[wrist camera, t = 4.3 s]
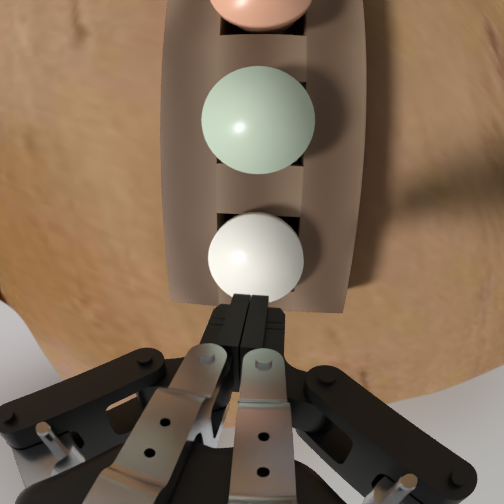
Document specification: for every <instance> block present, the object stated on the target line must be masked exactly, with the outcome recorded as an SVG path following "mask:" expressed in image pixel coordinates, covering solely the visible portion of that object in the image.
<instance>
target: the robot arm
mask: <svg viewBox="0 0 504 504" xmlns="http://www.w3.org/2000/svg"><path fill="white" fill-rule="evenodd" d="M284 336H285V314H284V313H283V311H282V310H281V308H274V307H269V296H266V295H252V297H251V295H250V294H236V293H234V294H233V297H232V300H231V303H230V304H220V305H219V306H217V307H216V308H215V309H214V310H213V312H212V315H211V317H210V319H209V322H208V325H207V327H206V329H205V332H204V334H203V337H202V339H201V342H200V344H199V345H196V346H194V347H192V348H191V349H190V350H189V351H188V353H187V355H186V356H185V357H182V358H175V359H164V356H163V354H162V353H161V352H160V351H158V350H156V349H153V348H141V349H137V350H135V351H133V352H130V353H128V354H126V355H123V356H121V357H119V358H117V359H114V360H112V361H110V362H107V363H105V364H103V365H100V366H98V367H96V368H93V369H91V370H89V371H86V372H84V373H81V374H79V375H77V376H74V377H72V378H69V379H67V380H64V381H62V382H60V383H57V384H54V385H52V386H50V387H47V388H44V389H42V390H39V391H37V392H34V393H32V394H29V395H26V396H24V397H21V398H19V399H16V400H13V401H11V402H8V403H6V404H3V405H2V406H0V434H1V436H2V437H3V438H4V439H5V440H6V442H7V444H8V445H9V446H10V447H11V448H12V450H13V454H14V457H15V460H16V463H17V466H18V469H19V472H20V475H21V478H22V481H23V483H24V486H25V489H24V490H23V491H22V492H21V493H20V495H19V496H18V498H17V500H16V502H15V504H346V503H345V502H344V501H343V500H342V499H341V498H340V497H339V496H338V495H337V494H336V493H335V492H334V491H333V489H332V488H330V486H328V484H327V483H326V482H325V481H324V480H323V479H322V478H321V477H320V476H319V475H318V474H317V473H316V472H315V471H313V470H312V469H311V468H309V467H308V466H306V465H305V464H303V463H301V462H299V461H296V460H294V449H293V434H292V427H293V428H295V429H296V432H297V434H298V435H299V436H300V437H301V438H302V439H303V440H304V441H305V442H306V443H307V444H308V445H309V446H310V447H311V448H312V449H313V450H314V451H315V452H316V453H317V454H318V455H319V456H320V457H321V458H322V459H323V460H324V461H325V462H326V463H327V464H328V465H329V466H330V467H331V468H332V469H334V470H335V471H336V472H337V473H338V474H339V475H340V476H341V477H342V478H343V479H344V480H345V481H347V482H348V483H349V484H350V485H351V486H352V487H353V488H354V489H356V490H357V491H358V492H359V493H360V494H361V495H362V496H363V497H365V498H364V500H363V503H362V504H459V503H460V502H461V501H462V500H464V499H465V498H466V497H468V496H469V495H470V494H471V493H472V492H473V491H474V489H475V487H476V484H477V473H476V471H475V469H474V467H473V466H472V465H471V464H470V463H468V462H467V461H465V460H464V459H462V458H461V457H459V456H458V455H456V454H455V453H453V452H452V451H451V450H449V449H448V448H446V447H445V446H443V445H442V444H440V443H439V442H437V441H436V440H435V439H433V438H432V437H430V436H429V435H428V434H426V433H425V432H423V431H422V430H420V429H419V428H418V427H416V426H415V425H414V424H412V423H411V422H409V421H408V420H407V419H405V418H404V417H403V416H401V415H399V414H398V413H397V412H396V411H394V410H393V409H392V408H390V407H389V406H388V405H386V404H385V403H384V402H382V401H381V400H380V399H378V398H377V397H376V396H374V395H373V394H372V393H370V392H369V391H368V390H366V389H365V388H364V387H362V386H361V385H360V384H358V383H357V382H356V381H354V380H353V379H352V378H350V377H349V376H348V375H347V374H345V373H344V372H343V371H341V370H340V369H338V368H336V367H333V366H328V365H321V366H316V367H314V368H312V369H310V370H309V371H308V372H305V371H302V370H298V369H296V368H294V367H292V366H291V365H289V364H288V363H287V361H286V360H285V358H284ZM240 384H241V387H240ZM239 389H240V399H239V401H238V406H237V416H236V427H235V437H234V447H232V448H216V447H217V443H218V439H219V437H220V434H221V430H222V428H223V425H224V422H225V419H226V416H227V413H228V410H229V401H230V399H231V394H232V391H233V392H239ZM134 393H136V395H137V397H135V398H133V399H131V400H129V401H127V402H125V403H123V404H121V405H119V406H117V407H115V408H112V409H110V410H108V411H106V409H107V407H108V406H110V405H111V404H113V403H116V402H118V401H120V400H122V399H124V398H126V397H128V396H130V395H132V394H134Z"/></svg>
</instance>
